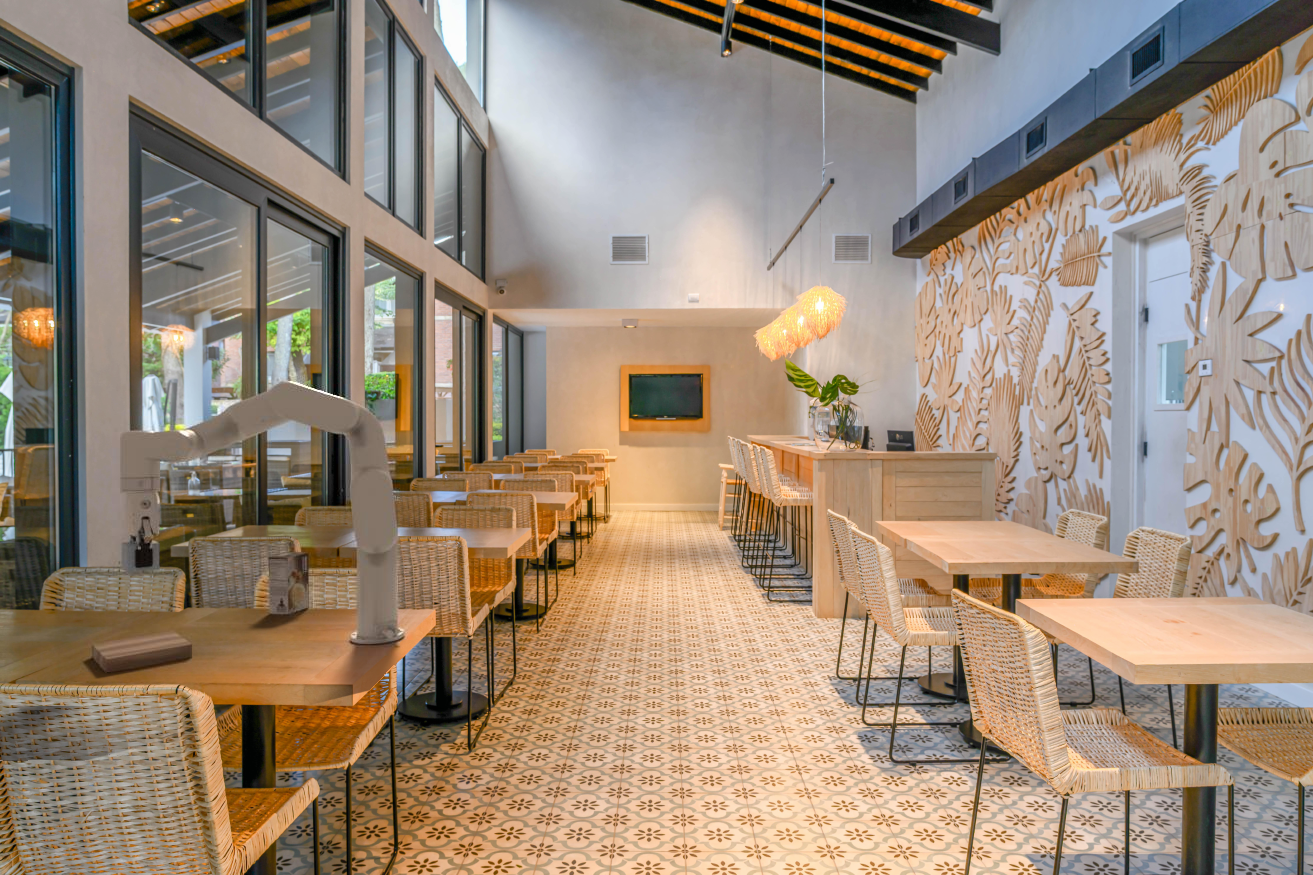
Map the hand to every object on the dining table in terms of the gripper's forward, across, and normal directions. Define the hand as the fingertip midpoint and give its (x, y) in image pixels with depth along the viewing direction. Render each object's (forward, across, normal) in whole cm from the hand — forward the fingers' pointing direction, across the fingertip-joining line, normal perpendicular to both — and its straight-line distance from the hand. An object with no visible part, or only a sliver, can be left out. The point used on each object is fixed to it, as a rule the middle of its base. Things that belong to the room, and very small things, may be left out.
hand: (140, 564), depth 174 cm
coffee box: (+21, +23, -40) cm, 51 cm away
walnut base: (+21, 0, 0) cm, 21 cm away
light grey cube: (+1, 0, 0) cm, 1 cm away
